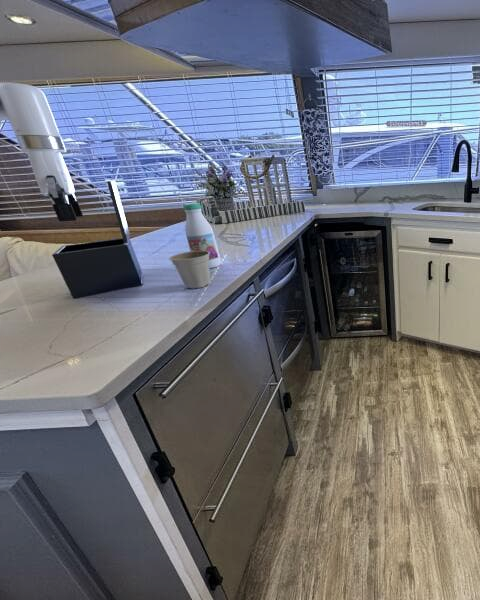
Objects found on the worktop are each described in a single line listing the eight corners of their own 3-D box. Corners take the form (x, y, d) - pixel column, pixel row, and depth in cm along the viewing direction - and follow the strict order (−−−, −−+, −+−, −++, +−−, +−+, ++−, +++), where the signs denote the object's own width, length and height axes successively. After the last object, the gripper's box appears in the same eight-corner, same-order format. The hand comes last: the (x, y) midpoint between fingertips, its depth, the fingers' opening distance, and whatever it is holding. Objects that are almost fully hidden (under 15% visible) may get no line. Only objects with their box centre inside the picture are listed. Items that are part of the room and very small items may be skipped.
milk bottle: (199, 264, 109) (180, 203, 101) (224, 261, 111) (208, 201, 103) (193, 270, 102) (172, 206, 94) (219, 267, 104) (202, 204, 96)
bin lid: (106, 181, 80) (110, 181, 81) (111, 180, 90) (114, 180, 90) (124, 243, 86) (128, 242, 86) (126, 235, 95) (130, 235, 96)
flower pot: (209, 277, 95) (201, 248, 92) (223, 283, 90) (215, 253, 86) (173, 286, 89) (163, 256, 85) (187, 294, 83) (176, 261, 80)
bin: (73, 298, 83) (51, 254, 78) (81, 285, 92) (62, 245, 88) (142, 285, 91) (126, 244, 86) (143, 274, 100) (129, 237, 96)
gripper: (30, 147, 81) (59, 216, 87) (7, 142, 68) (43, 224, 74) (70, 147, 85) (95, 214, 91) (56, 143, 72) (86, 221, 78)
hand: (72, 218), depth 83 cm, fingers open, 9 cm apart
